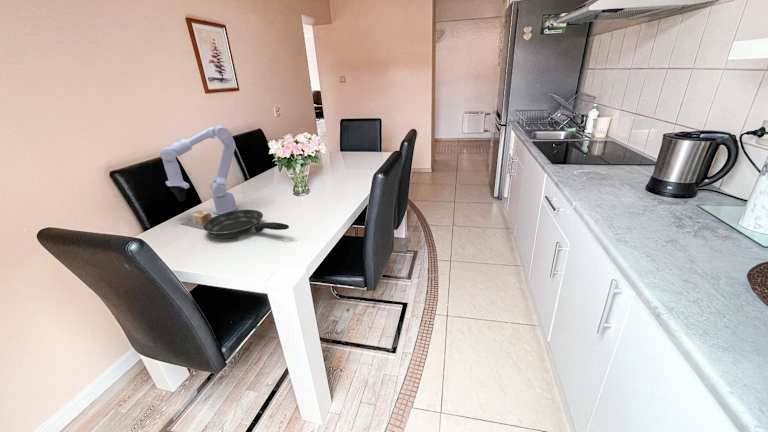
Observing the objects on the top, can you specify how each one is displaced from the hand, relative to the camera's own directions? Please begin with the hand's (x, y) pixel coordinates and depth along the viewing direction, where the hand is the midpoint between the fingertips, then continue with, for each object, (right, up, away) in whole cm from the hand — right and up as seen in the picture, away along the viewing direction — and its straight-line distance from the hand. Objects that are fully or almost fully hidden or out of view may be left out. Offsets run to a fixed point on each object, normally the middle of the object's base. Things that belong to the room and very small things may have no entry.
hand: (182, 200), depth 153 cm
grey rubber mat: (+10, -11, -1) cm, 15 cm away
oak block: (+7, -8, 0) cm, 10 cm away
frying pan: (+37, -15, -12) cm, 42 cm away
